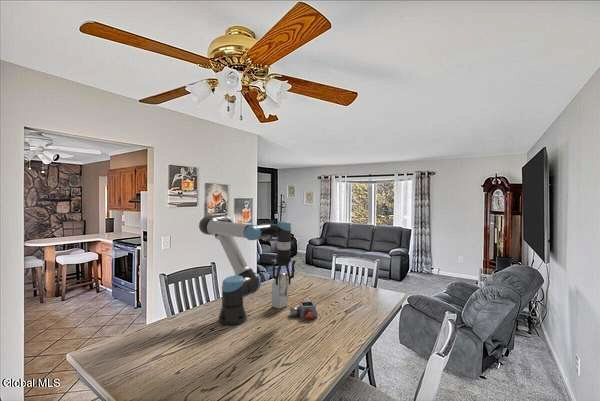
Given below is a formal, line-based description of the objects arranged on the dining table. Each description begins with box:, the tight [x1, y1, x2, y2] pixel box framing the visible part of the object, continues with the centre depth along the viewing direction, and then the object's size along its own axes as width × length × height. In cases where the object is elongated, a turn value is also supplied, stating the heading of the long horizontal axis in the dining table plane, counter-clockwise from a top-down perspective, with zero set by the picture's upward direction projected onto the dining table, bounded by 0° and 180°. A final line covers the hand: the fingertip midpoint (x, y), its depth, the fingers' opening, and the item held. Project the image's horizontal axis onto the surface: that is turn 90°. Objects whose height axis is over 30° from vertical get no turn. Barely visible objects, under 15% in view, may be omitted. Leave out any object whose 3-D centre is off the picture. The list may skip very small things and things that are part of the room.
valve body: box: [289, 300, 318, 321], centre depth 167 cm, size 15×12×6 cm
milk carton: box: [271, 277, 288, 310], centre depth 182 cm, size 7×7×19 cm
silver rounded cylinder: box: [279, 272, 288, 297], centre depth 160 cm, size 5×5×12 cm
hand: (282, 290), depth 161 cm, fingers closed on silver rounded cylinder, 5 cm apart
